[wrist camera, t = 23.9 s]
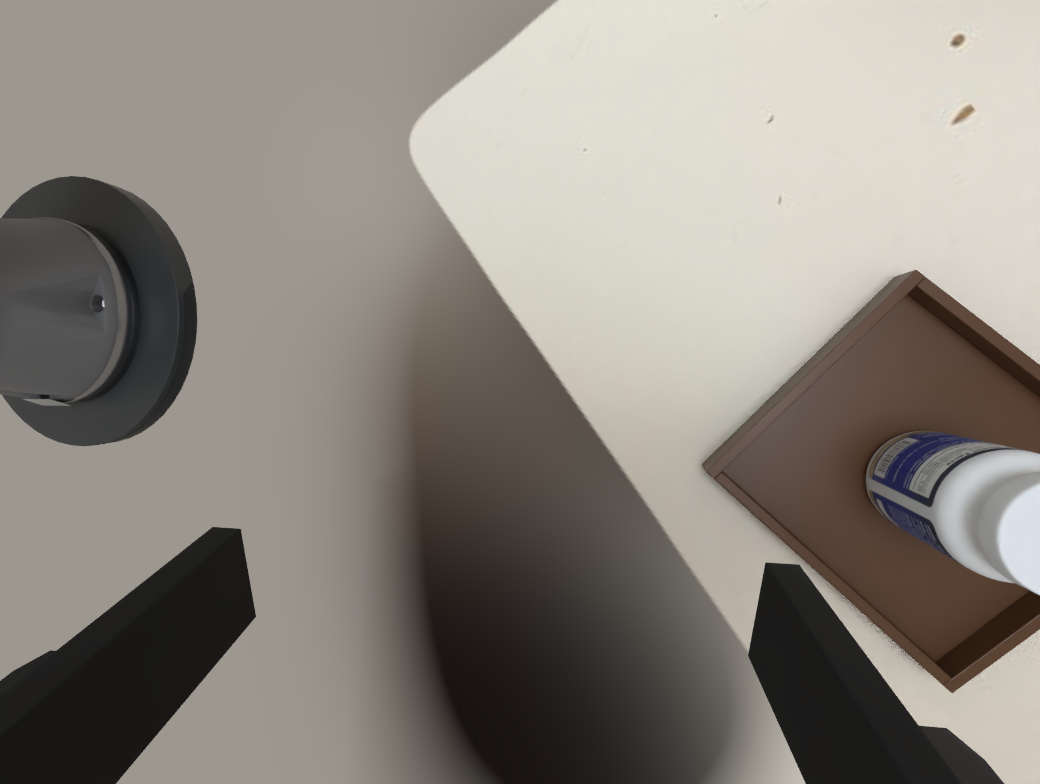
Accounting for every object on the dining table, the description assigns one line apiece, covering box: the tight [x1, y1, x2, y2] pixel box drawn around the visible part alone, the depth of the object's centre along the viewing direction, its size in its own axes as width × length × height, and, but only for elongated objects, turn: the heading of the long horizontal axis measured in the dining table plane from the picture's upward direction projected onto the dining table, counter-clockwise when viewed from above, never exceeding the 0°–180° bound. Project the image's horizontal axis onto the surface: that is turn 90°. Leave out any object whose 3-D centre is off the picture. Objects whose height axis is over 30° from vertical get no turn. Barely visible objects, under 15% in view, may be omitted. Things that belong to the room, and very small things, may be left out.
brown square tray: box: [702, 270, 1040, 693], centre depth 27 cm, size 17×15×2 cm
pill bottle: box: [866, 431, 1040, 595], centre depth 22 cm, size 6×6×10 cm
